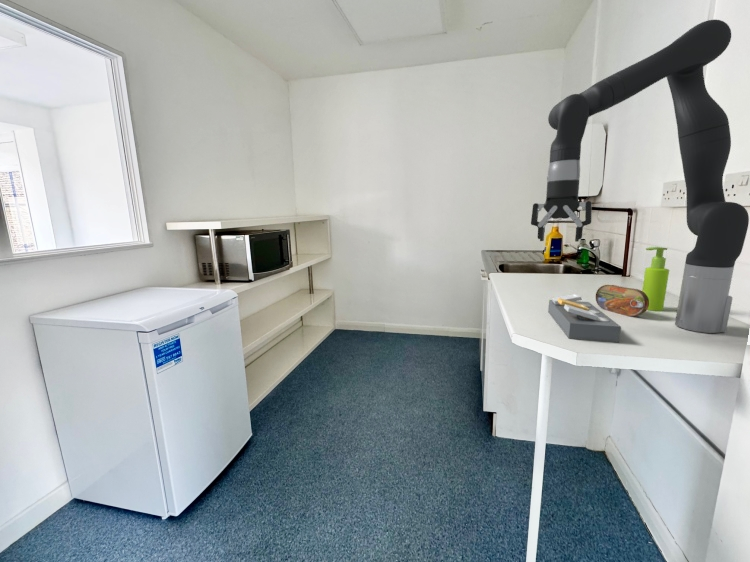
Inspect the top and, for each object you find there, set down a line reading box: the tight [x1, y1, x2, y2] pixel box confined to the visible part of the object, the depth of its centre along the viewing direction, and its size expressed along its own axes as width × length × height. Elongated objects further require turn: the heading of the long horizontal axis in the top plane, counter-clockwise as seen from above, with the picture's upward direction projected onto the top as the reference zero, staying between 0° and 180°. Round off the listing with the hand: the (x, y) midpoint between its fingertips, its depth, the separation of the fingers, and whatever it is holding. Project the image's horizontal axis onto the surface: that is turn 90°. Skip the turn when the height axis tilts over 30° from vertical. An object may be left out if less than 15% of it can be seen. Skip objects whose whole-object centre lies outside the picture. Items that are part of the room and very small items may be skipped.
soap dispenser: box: [641, 246, 670, 312], centre depth 109 cm, size 6×7×20 cm
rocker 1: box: [551, 293, 582, 305], centre depth 102 cm, size 7×4×1 cm, turn 75°
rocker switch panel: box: [547, 299, 622, 343], centre depth 95 cm, size 11×24×5 cm, turn 165°
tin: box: [595, 284, 649, 317], centre depth 107 cm, size 15×3×8 cm, turn 20°
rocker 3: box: [564, 304, 598, 320], centre depth 89 cm, size 7×4×1 cm, turn 75°
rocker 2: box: [558, 298, 589, 311], centre depth 95 cm, size 7×4×1 cm, turn 75°
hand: (558, 241), depth 94 cm, fingers open, 8 cm apart
